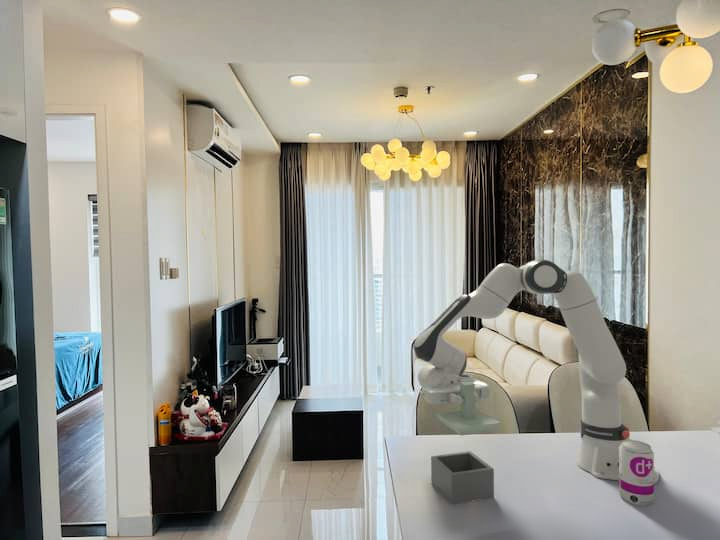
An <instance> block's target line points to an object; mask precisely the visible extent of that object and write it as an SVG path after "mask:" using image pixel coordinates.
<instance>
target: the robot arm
mask: <svg viewBox="0 0 720 540" xmlns="http://www.w3.org/2000/svg"><path fill="white" fill-rule="evenodd" d="M522 291H523V292H525V293H529V294H533V295H549V294H551V295H552V296H553V297H554V299H555V300H556V302H557V305H558V308H559V310H560V313H561V315H562V318H563V320H564V323H565V326H566V329H567V330H568V333H569V335H570V337H571V339H572V342H573V343H574V345H575V347H576V350H577V352H578V371H579V372H578V374H579V381H580V383H579V384H580V391H581V420H580V424H579V425H580V426H579V431H580V432H579V433H580V434H579V435H580V438H581V441H580V442H581V443H580V449H579V453H578V458H577V460H576V464H577V466H578V467H579V468H581V469H582V470H584V471H586V472H588V473H590V474H592V475H593V476H594V477H595V478H598V479H604V480H605V479H606V480H613V481H619V447H620V445H621V442H622V441H625V440H632V438H630V435H631V434H630V431H629V427H628V425H624V424H623V423H622V401H621V400H622V399H621V395H620V391H619V390H620V389H619V384H618V383H620V382H621V381H623V380H624V378H625V376H626V374H627V365H626V362H625V360H624V357H623V355H622V353H621V351H620V349H619V347H618V344H617V342H616V340H615V338H614V337H613V334H612V333H611V331H610V329H609V327H608V325H607V323H606V321H605V318H604V316H603V314H602V311H601V308H600V306H599V304H598V302H597V299H596V296H595V294H594V292H593V290H592V288H591V287H590V284H589V282H588V281H587V280H586V278H585V276H584V275H583V274H582V273H581V272H580V271H578V270H566V271H565V270H564V269H562V268H560V266H558V265H557V264H556V263H555V262H553V261H550V260H548V259H535V260H531V261H529V262H527V263H525V264H523V265H520V266H519V267H517V266H514V265H512V264H511V263H506V262H502V263H500V264H498V265H496V266H495V267H494V268H493V269H492V270H491V271H490V272H489V273H488V274H487V275H486V276H485V278H484V279H483V280H482V282H481V283H480V285H479V286H478V287H477V288H476V289H475V290H474V291H472V292H471V293H469V294H465V293H464V294H462V295H460V296H459V297H458V298H456V299H455V300H454V301H453V302H451V304H450V305H449V306H448V307H447V308H446V309H445V310H444V311H443V312H442V313H441V314H440V315H439V316H438V317H437V318H436V319H435V321H433V322H432V323H431V324H430V325H429V326H428V327H427V328H426V329H425V330H423V331H421V333H419V335H418V336H417V337H416V338H415V339H414V343H413V349H414V350H413V351H414V354H415V356H416V357H417V358H418V359H419V360H421V361H424V362H425V363H427V364H428V365H425V366H422V367H421V368H420V369H419V371H418V372H417V373H418V374H417V379H418V381H417V382H418V383H419V385H420V387H421V388H422V389H421V390H419V391H418V394H419V395H420V396H423V399H424V400H425V401H426V403H428V404H429V405H440V404H452V403H457V404H459V405H461V403H464V402H465V401H464V400H465V399H464V397H463V396H460V383H461V382H471V383H473V384H475V403H476V402H477V403H478V402H479V400H482V399H483V400H484V399H489V398H490V396H491V387H490V385H489V384H487V383H486V382H484V381H482V380H479V379H477V378H474V376H473V375H470V374H469V375H468V374H467V375H465V374H464V373H465V370H466V369H467V363H468V360H467V354H466V352H465V351H464V350H463V349H462V348H460V347H458V345H456V344H454V343H452V342H450V341H449V340H447V339H446V338H444V337H443V335H445V333H446V332H447V331H448V330H449V329H450V328H451V327H452V326H453V325H455V323H457V321H458V320H460V319H461V318H464V317H472V318H478V319H483V320H491V319H495V318H498V317H500V316H502V314H503V313H504V312H505V310H506V309H508V308H507V307H509V304H510V303H511V302H512V300H513V299H514V297H515V296H516V295H517V294H519V293H520V292H522ZM659 480H660V474H659V471H658V469H657V468H656V466H654V485H655V484H657V483H658V482H659Z"/></svg>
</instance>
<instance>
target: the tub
mask: <svg viewBox="0 0 720 540" xmlns="http://www.w3.org/2000/svg"><path fill="white" fill-rule="evenodd" d="M430 461H431V462H430V465H431V467H430V470H431V479H430V480H431V484H432V485H433V487H434V488H435V489H436V490H439V491H438V492H439V493H440V494H441V495H442V496H443V498H445V499H446V500H447V501H448V502H449V503H450V505H457V504H462V503H461V502H463V503H467V502H466V501H469V502H473V501H472V500H475V501H480V500H479V499H481V500H485V498H487V499H490V498H495V482H494V481H495V475H494V474H495V471H494V468H493V467H492V466H491V465H489V463H487V462H485V461H484V460H483V459H481V458H480V457H479V456H477V455H476V454H475V453H473V452H472V451H471V450H469V451H461V452H455V453H445V454H439V455H433V456H430ZM477 499H478V500H477Z"/></svg>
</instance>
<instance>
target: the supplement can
mask: <svg viewBox="0 0 720 540" xmlns="http://www.w3.org/2000/svg"><path fill="white" fill-rule="evenodd" d="M654 467H655V453H654V451H653V449H652V446H651V445H650V444H648V443H646V442H644V441H639V440H633V439H631V440H625V441H622V442H621V445H620V447H619V480H618V483H619V484H618V485H619V486H618V493H619V496H620V497H621V498H622V499H623V500H624V501H626V502H627V503H629V504H632V505H635V506H643V507H645V506H650V505H651V504H653V503H654V501H655V484H654Z"/></svg>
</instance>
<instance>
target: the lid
mask: <svg viewBox="0 0 720 540" xmlns="http://www.w3.org/2000/svg"><path fill="white" fill-rule="evenodd" d="M460 396H463V397H464V399H465V400H464V401H465V402H464V403H461V404H460V410H458V411H450V412H449V411H447V412H441V413H437V419H439V421H441V422H443V424H444V425H445V426H447V427H448V428H450V429H451V430H452V431H454V432H455V433H457V434H458V435H459V436H469V435H475V434H483V433H489V432H490V433H491V432H494V429H495V428H501V427H502V423H501V421H499V420H497V419H495V418H494V417H491V416H489V415H488V414H486V412H485V413H484V412H482V411H481V410H479V409H477V408H476V402H475V384H473V383H471V382H461V383H460Z"/></svg>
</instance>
